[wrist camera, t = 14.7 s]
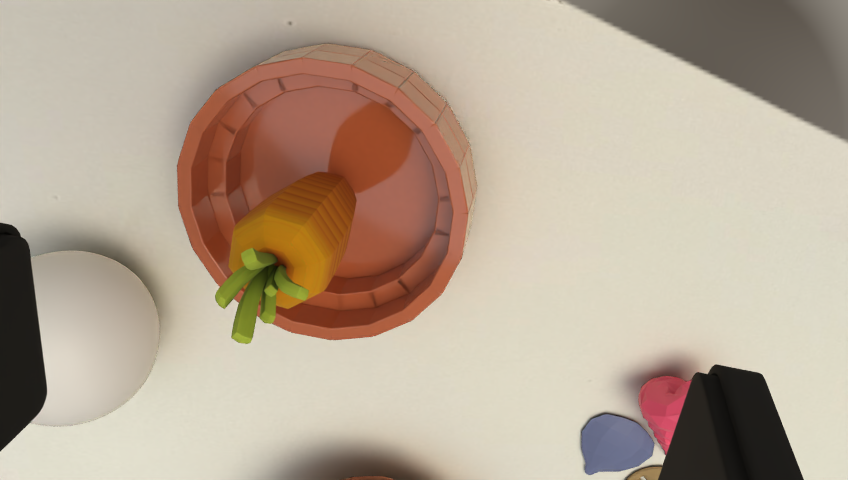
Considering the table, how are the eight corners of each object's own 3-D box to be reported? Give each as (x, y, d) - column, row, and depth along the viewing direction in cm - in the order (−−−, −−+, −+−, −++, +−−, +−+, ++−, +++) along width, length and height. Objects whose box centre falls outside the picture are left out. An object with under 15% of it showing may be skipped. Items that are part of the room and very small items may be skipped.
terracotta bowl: (215, 23, 41) (172, 37, 37) (496, 64, 40) (487, 85, 35) (216, 273, 48) (180, 311, 44) (458, 318, 46) (446, 363, 42)
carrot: (328, 123, 42) (215, 227, 28) (400, 177, 42) (322, 305, 29) (283, 188, 44) (158, 314, 30) (352, 239, 44) (259, 385, 31)
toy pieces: (548, 392, 47) (547, 436, 43) (729, 340, 44) (745, 384, 40) (615, 533, 51) (619, 586, 47) (787, 496, 47) (807, 550, 43)
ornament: (59, 356, 53) (-71, 471, 42) (27, 221, 49) (-125, 310, 38) (196, 369, 51) (97, 492, 41) (175, 231, 47) (59, 327, 36)
